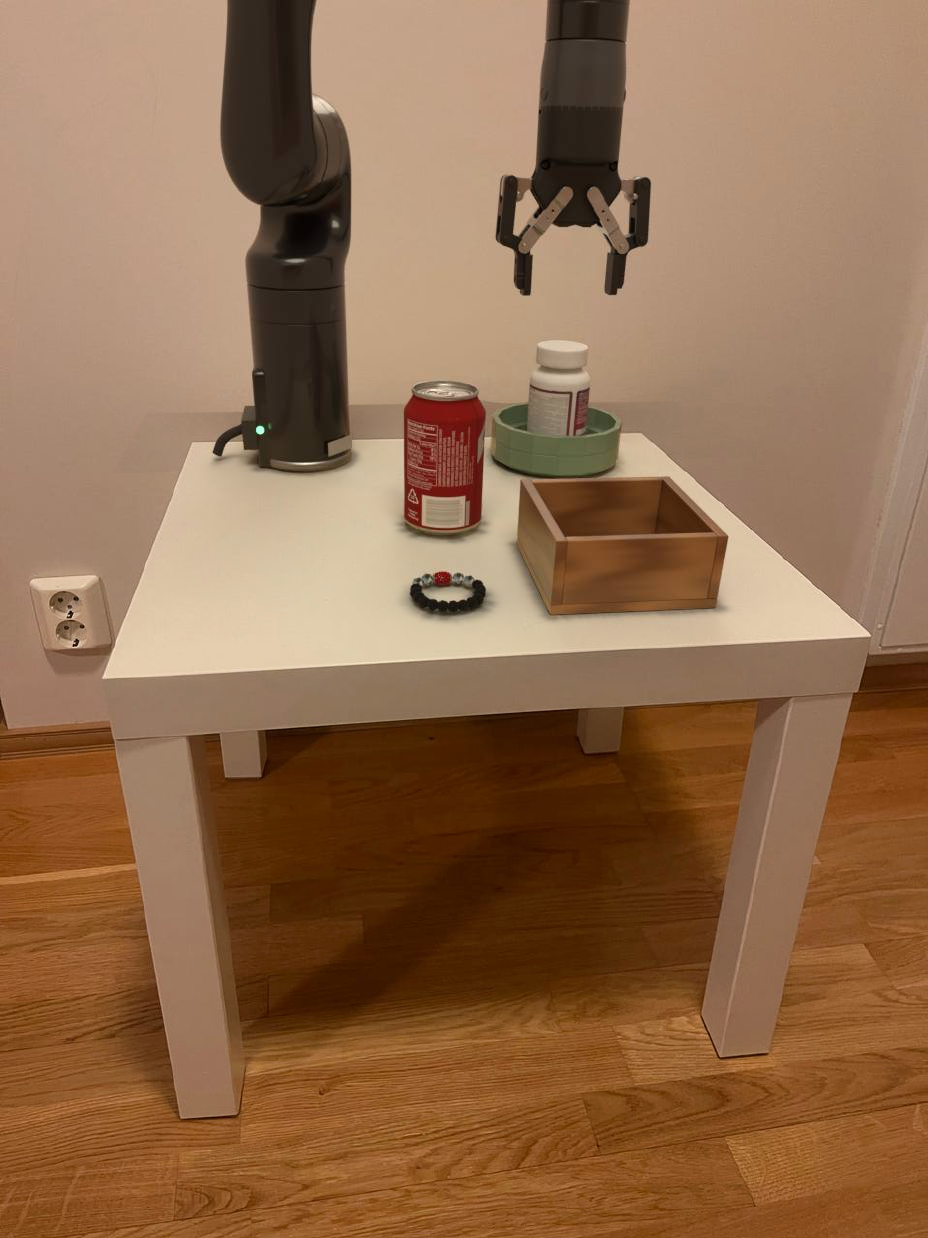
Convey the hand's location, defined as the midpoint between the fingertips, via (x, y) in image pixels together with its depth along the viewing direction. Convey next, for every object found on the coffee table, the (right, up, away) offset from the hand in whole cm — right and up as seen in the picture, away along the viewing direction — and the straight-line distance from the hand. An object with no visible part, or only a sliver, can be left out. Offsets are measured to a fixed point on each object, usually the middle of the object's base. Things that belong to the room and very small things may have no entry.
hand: (567, 294), depth 88 cm
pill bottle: (-1, -14, +8) cm, 16 cm away
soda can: (-12, -24, -8) cm, 28 cm away
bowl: (-1, -15, +8) cm, 17 cm away
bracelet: (-11, -30, -21) cm, 38 cm away
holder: (+1, -28, -16) cm, 33 cm away
